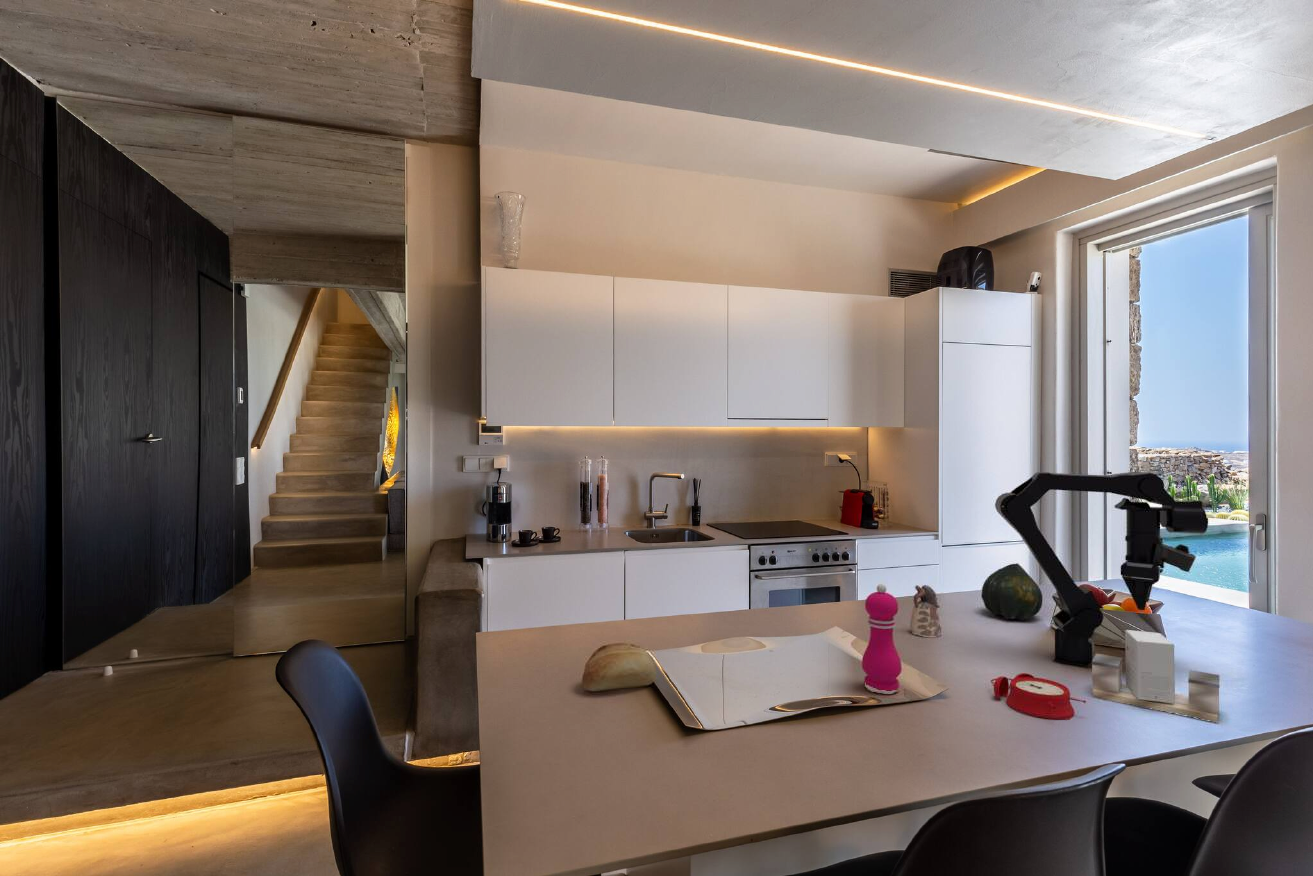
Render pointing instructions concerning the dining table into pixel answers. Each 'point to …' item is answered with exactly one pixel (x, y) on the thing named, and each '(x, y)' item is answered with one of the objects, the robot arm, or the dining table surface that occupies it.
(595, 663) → the bread roll
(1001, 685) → the alarm clock
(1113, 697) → the grey metal u-shaped piece
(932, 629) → the figurine
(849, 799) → the dining table surface
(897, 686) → the pepper mill
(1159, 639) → the small box
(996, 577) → the squash
